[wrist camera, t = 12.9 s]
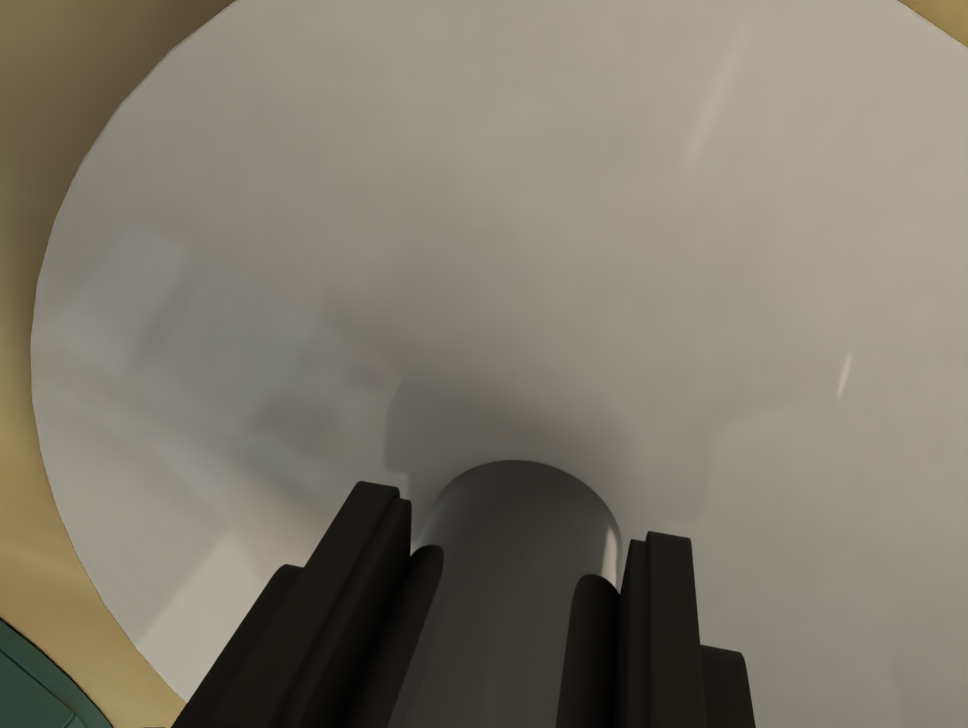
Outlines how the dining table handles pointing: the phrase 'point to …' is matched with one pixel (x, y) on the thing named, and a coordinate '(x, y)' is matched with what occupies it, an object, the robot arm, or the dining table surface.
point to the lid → (532, 343)
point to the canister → (39, 690)
